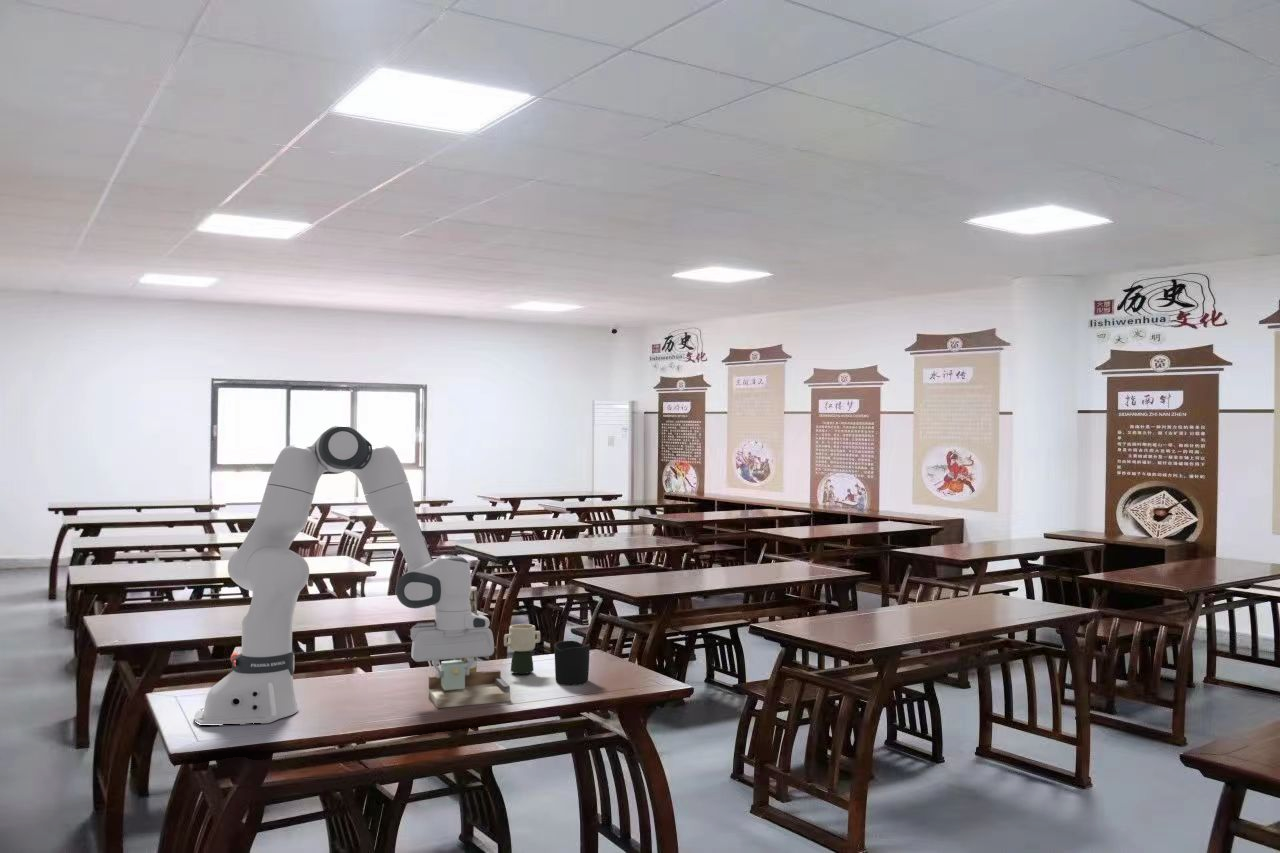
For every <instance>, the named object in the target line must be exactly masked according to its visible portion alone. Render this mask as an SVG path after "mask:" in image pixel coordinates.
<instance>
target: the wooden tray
mask: <svg viewBox="0 0 1280 853" xmlns="http://www.w3.org/2000/svg"><path fill="white" fill-rule="evenodd" d="M501 675H502V674H501V670H500V669H497V670H496V669H495V670H483V671H482V670H481V671H476V672H470V673H469V675H468V676H465V688H464V689H453V690H444V689H443V688H442V686H441V678H437V676H436V674H435V675H428V698H429V699H430V700H431V702H432V703H433V705H434V706H435V708H436V709H442V708H452V707H462V706H471V705H472V706H473V705H481V704H482V705H483V704H484V705H485V704H491V703H493V704H494V703H503V702H511V687H510V686H511V685H510V684H508V683H507V682H506V680H504V679H503V678H502V677H501Z"/></svg>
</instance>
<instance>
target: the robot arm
mask: <svg viewBox="0 0 1280 853" xmlns="http://www.w3.org/2000/svg"><path fill="white" fill-rule="evenodd" d="M345 472H351V473H353V474H354V475H355V476H356V477H357V478H358V480H359V482H360V484H361V488H362V491H363V495H364V497H365V501H366V504H367V506H368V508H369V510H370V512H371V514H372V516H373V518H374V519H375V521H377V522H378V523H380V524H382V525H383V526H385V527H386V528H388V530H390V531H391V532H392V533H393V534H394V536H395V537H396V539H397V541H398V544H399V546H400V549H401V552H402V555H403V558H404V560H405V563H406V566H407V572H405V573H404V574H403V575H402V576H401V577H400V578H399V579H398V580H397V582H396V584H395V585H396V586H395V593H396V598H397V600H398V601H399V602H400V604H402V605H403V606H404V607H406V608H410V609H422V608H425V607H430V606H434V609H435V610H434V621H428V622H418V623H416V624H414V625H413V626H412V627H411V628H410V639H411V641H412V643H411V649H410V650H411V655H410V656H411V658H412V659H413V661H415V662H417V663H419V662H420V663H421V662H430V661H431V664H432V666H433V667H434V669H435V671H436V674H435V675H436V676H437V678H443V670H442V669H441V668H439V666H438V665H439V664H440V661H442V660H443V661H446V660H451V659H457V658H467V660H468V663H467V665H466V667H465V676H468V675H469V669H470V667H471V666H472V664H473V662H474V657H477V658H479V657H481V658H482V657H490V656H493V654H494V652H495V641H494V635H493V631H492V630H491V628H489V627H490V624H491V621H490V619H489V618H488V617H487V616H485V615H483V614H479V613H477V614H476V613H472V612H471V604H470V594H471V586H472V574H471V566H470V563H469V561H468V560H467V558H464V557H462V556H459V555H454V554H453V555H452V554H440V555H439V556H438V557H437V558H435V559H433V557H432V556H431V553H430V550H429V549H428V545H427V542H426V540H425V537H424V534H423V532H422V529H421V526H420V524H419V520H418V516H417V512H416V508H415V503H414V499H413V493H412V490H411V487H410V486H411V485H410V483H409V481H408V480H409V479H408V477H407V474H406V472H405V469H404V468H403V465H402V462H401V461H400V459H399V457H398V455H397V452H395V450H394V448H393V447H392V446H389V445H386V444H376V445H372V444H371V442H370V441H368V440H367V438H365V437H364V436H363V435H362V434H361V433H360V432H359V431H358V430H356V429H355V428H353V427H351V426H348V425H335V426H332V427H330V428H327V430H325V431H324V432H323V433H321V434H320V436H319V437H318V438H317V440H316V441H315V442H314V443H313V444H312V445H308V446H305V445H302V444H291V445H288V446H285V447H284V448H282V449H281V451H280V452H279V454H278V456H277V458H276V460H275V462H274V464H273V466H272V469H271V472H270V474H269V477H268V480H267V482H266V483H267V484H266V486H265V490H264V493H263V497H262V500H261V504H260V507H259V510H258V513H257V515H256V518H255V520H254V522H253V525H251V528H250V530H249V531H248V533H247V535H246V537H245V538H244V540H243V543H241V545H240V547H239V548H237V550H236V551H235V552H233V554H231V556H230V557H229V560H228V562H227V572H228V576H229V577H230V579H231V580H232V581H233V583H235V584H236V585H238V586H239V587H240V588H242V589H244V590H247V591H252V597H251V601H250V605H249V608H248V611H247V613H246V615H245V616H244V617H243V619H242V620H241V621H242V622H241V653H237V652H234V653H232V654H231V655H230V662H231V669H232V671H230V672H229V673H228V674H227V675H226V676H224V677H223V678H222V679H221V680H219V681H218V682H217V683H215V684H214V685H213V686H212V687H211V688H210V689H209V691H208V693H207V695H206V699H205V704H204V707H203V708H200V709H199V710H201V711H199V710H197V711H196V712H195V714H194V717H195V721H196V722H198V723H200V724H240V725H244V724H243V723H253V724H252V725H255V724H254V723H261V724H270V723H273V722H275V721H277V720H280V719H282V718H286V717H290V716H292V715H294V714H296V713H297V712H299V711H300V708H299V705H298V702H297V697H296V693H295V687H294V686H295V684H294V672H295V654H294V650H293V619H294V613H295V608H296V606H297V601H298V598H299V595H300V593H301V591H302V590H303V589H304V588H305V587H306V585H307V583H308V580H309V577H310V568H309V567H310V566H309V564H308V562H307V561H306V559H305V558H304V557H303V556H301V555H300V554H299V553H297V552H295V551H293V550H291V549H290V547H291V545H292V543H293V542H294V540H295V538H296V537H297V536H298V535H299V534H300V532H302V531H303V530H304V528H305V527H306V525H307V521H308V519H309V514H310V511H311V508H312V505H313V504H312V503H313V501H314V500H313V499H314V496H315V493H316V489H317V485H318V483H319V480H320V478H321V477H322V475H338V474H341V473H345ZM203 709H204V711H202V710H203Z"/></svg>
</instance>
